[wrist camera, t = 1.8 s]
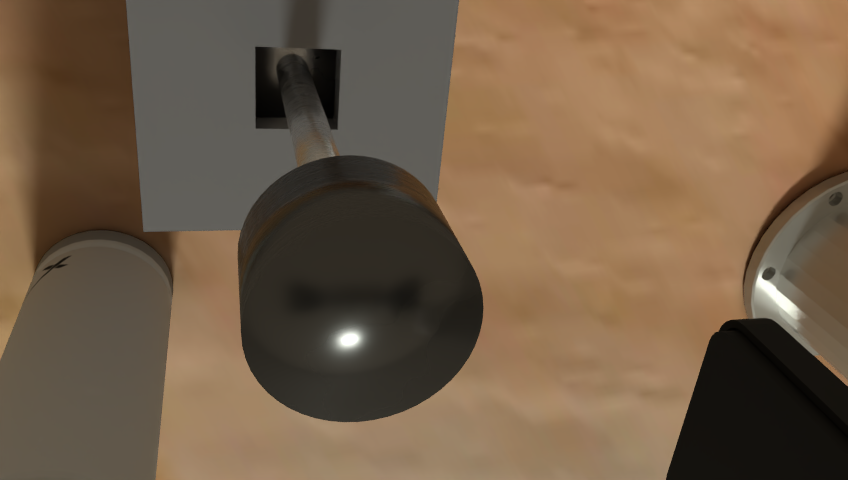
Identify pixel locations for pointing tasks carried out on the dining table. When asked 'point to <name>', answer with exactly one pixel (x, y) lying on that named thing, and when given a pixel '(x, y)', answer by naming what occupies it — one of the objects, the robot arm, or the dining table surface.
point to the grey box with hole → (269, 137)
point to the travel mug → (87, 363)
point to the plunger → (347, 266)
